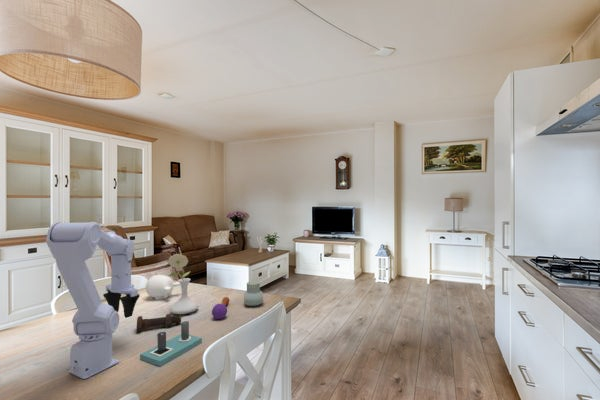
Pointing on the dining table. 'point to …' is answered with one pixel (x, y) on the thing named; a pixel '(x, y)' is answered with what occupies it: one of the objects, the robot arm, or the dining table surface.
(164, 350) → the pin
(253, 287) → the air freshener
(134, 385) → the dining table surface
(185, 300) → the flower in vase
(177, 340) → the pin board
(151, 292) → the piggy bank
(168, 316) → the bolt
